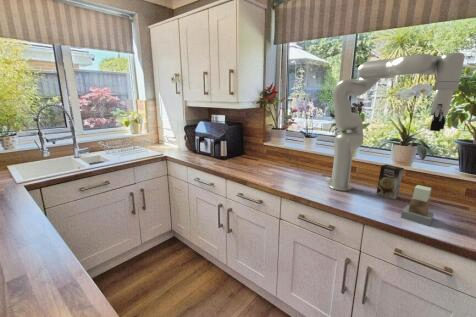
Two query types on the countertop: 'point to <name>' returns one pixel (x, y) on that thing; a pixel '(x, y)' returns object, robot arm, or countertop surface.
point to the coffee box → (389, 181)
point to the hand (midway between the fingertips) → (436, 129)
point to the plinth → (417, 216)
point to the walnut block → (419, 206)
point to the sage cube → (422, 193)
